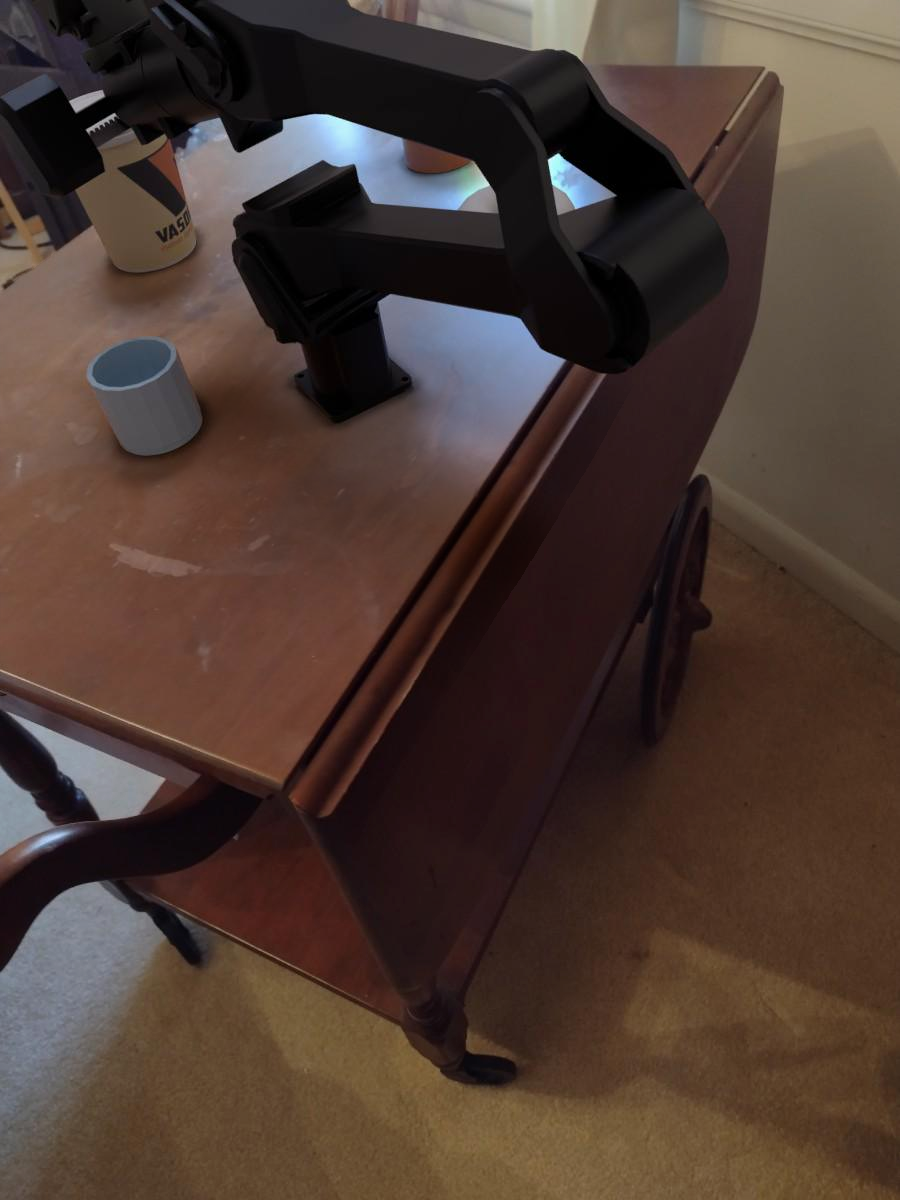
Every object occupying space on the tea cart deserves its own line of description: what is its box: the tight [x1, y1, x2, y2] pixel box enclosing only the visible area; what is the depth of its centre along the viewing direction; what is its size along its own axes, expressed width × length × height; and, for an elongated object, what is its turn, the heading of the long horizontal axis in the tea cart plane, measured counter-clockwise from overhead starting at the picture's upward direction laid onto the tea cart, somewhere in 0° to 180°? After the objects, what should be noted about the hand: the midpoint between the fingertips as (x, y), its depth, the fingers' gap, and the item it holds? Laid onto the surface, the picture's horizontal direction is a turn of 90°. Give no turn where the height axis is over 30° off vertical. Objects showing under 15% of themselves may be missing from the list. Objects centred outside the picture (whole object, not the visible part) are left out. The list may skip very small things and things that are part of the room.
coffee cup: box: [68, 89, 197, 274], centre depth 77 cm, size 9×9×12 cm
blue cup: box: [85, 335, 204, 457], centre depth 62 cm, size 6×6×6 cm
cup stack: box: [401, 138, 471, 174], centre depth 84 cm, size 7×7×9 cm
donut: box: [457, 184, 576, 215], centre depth 74 cm, size 10×4×10 cm
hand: (92, 103), depth 67 cm, fingers open, 9 cm apart
